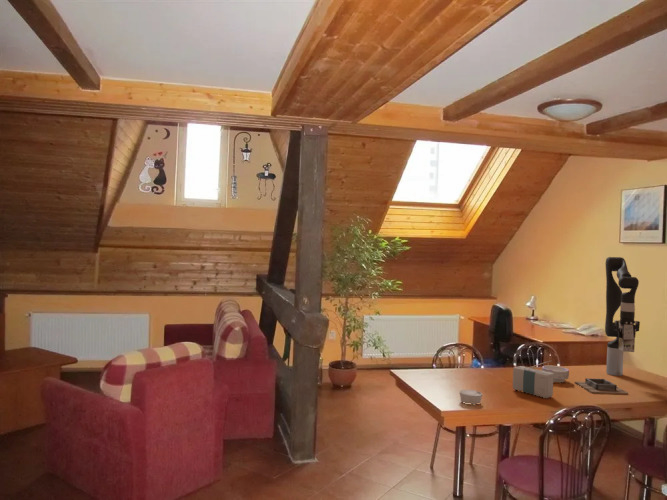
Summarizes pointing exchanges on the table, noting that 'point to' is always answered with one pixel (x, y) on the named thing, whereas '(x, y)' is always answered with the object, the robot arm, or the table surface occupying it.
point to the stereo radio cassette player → (533, 381)
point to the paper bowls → (557, 372)
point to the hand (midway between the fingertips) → (626, 338)
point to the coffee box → (627, 338)
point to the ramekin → (470, 396)
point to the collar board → (600, 386)
